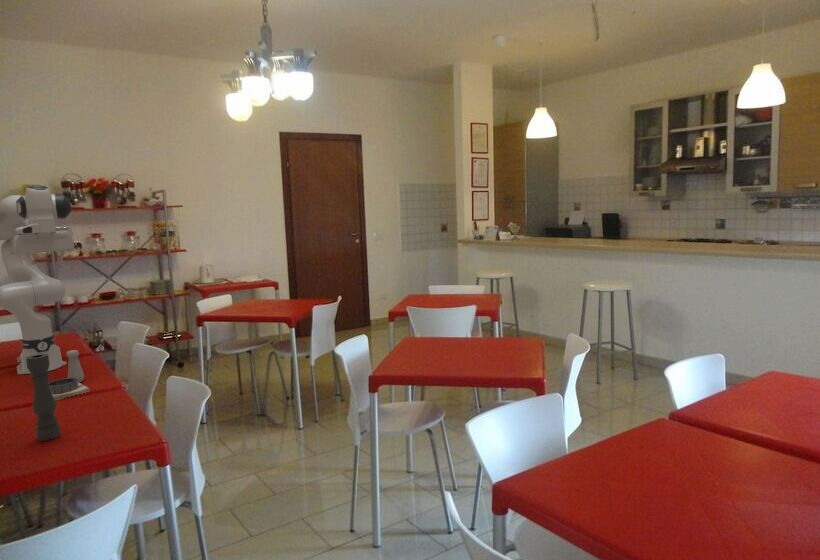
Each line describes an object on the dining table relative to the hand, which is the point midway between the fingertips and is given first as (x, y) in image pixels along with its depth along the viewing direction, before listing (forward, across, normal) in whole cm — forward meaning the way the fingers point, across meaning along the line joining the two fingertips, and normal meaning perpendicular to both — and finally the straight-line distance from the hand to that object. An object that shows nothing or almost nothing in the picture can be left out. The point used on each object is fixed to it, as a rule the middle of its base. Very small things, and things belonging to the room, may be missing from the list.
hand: (46, 263), depth 233 cm
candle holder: (+47, +21, +64) cm, 82 cm away
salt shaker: (+48, -4, +7) cm, 48 cm away
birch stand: (+47, +4, +19) cm, 51 cm away
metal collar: (+46, +5, +19) cm, 50 cm away
